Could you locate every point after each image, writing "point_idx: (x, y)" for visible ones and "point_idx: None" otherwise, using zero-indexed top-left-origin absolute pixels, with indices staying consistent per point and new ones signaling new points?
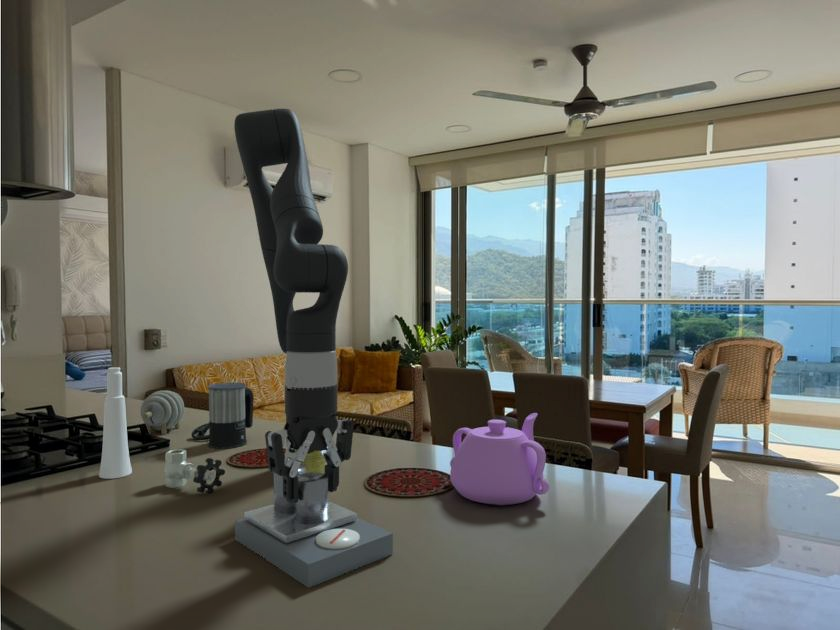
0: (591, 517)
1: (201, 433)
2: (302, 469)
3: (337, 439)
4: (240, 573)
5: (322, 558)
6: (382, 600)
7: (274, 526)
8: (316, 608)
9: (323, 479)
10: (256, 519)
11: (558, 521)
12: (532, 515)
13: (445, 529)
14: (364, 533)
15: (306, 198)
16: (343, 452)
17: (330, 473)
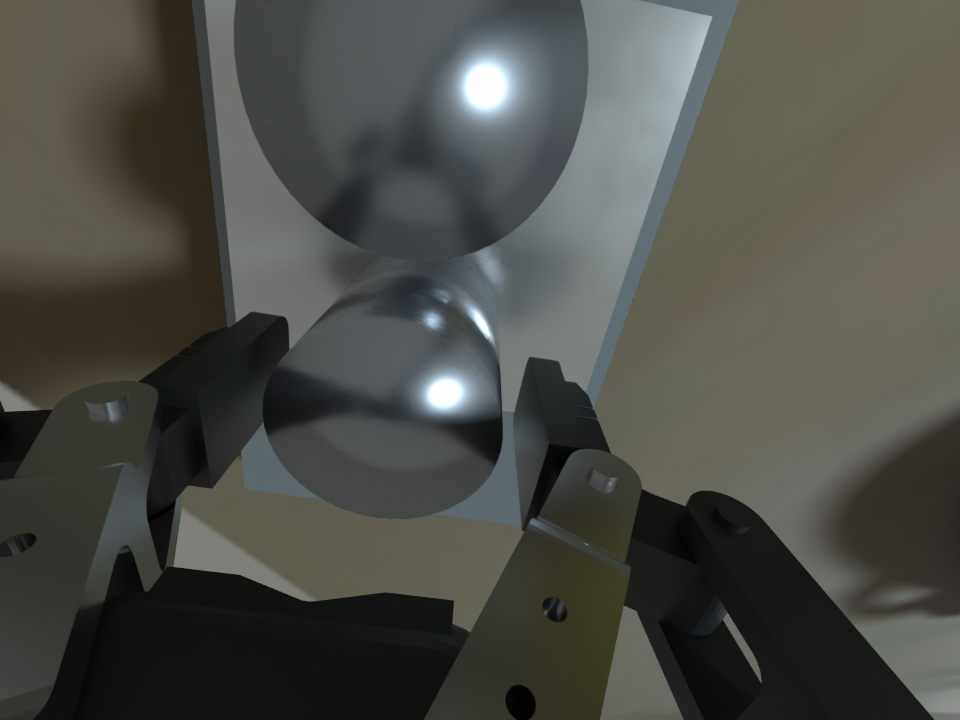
0: (957, 673)
1: None
2: (480, 224)
3: (796, 698)
4: (151, 243)
5: (295, 493)
6: (362, 567)
7: (246, 260)
8: (243, 506)
9: (410, 508)
10: (215, 98)
11: (911, 642)
12: (942, 599)
13: (763, 499)
14: (501, 477)
15: None
16: (661, 637)
17: (526, 472)
